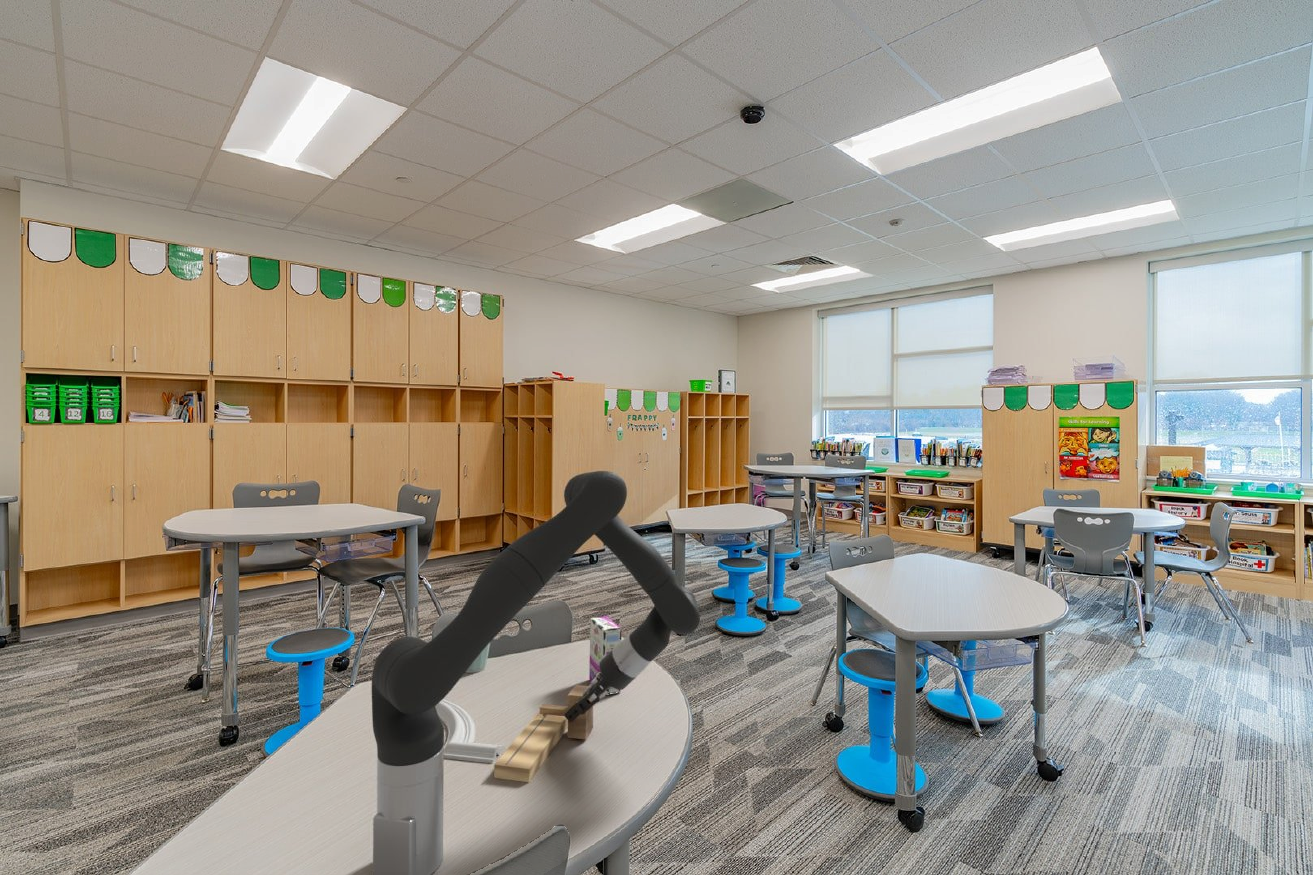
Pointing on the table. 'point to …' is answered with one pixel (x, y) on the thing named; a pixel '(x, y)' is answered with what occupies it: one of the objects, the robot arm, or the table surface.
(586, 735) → the wooden block with tab
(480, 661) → the disposable coffee cup
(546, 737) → the plank
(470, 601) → the robot arm
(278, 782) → the table surface
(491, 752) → the molding
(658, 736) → the table surface
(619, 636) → the candy bar box
